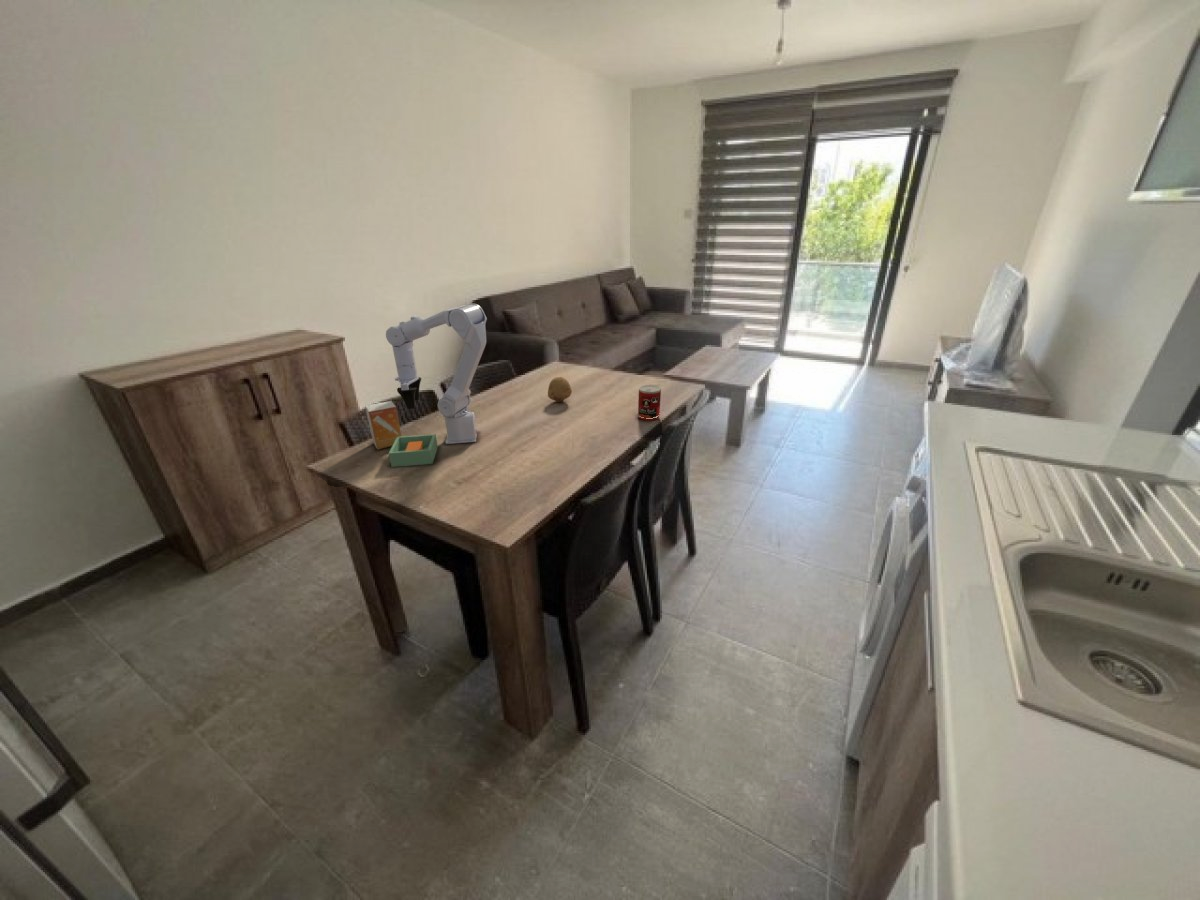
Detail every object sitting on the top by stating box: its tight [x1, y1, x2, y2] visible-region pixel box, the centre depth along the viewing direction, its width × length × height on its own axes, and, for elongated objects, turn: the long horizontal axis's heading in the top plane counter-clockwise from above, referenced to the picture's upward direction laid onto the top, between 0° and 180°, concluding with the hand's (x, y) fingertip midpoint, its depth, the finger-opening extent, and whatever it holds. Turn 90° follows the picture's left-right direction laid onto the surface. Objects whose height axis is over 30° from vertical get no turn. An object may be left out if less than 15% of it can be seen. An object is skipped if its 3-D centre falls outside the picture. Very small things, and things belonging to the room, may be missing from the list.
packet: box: [405, 441, 424, 451], centre depth 145 cm, size 4×7×3 cm, turn 10°
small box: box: [364, 400, 403, 451], centre depth 151 cm, size 8×6×13 cm
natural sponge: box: [547, 376, 573, 403], centre depth 185 cm, size 9×9×10 cm
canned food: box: [637, 384, 662, 422], centre depth 171 cm, size 8×8×11 cm
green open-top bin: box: [388, 433, 439, 468], centre depth 145 cm, size 12×12×4 cm
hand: (413, 404), depth 157 cm, fingers open, 7 cm apart
